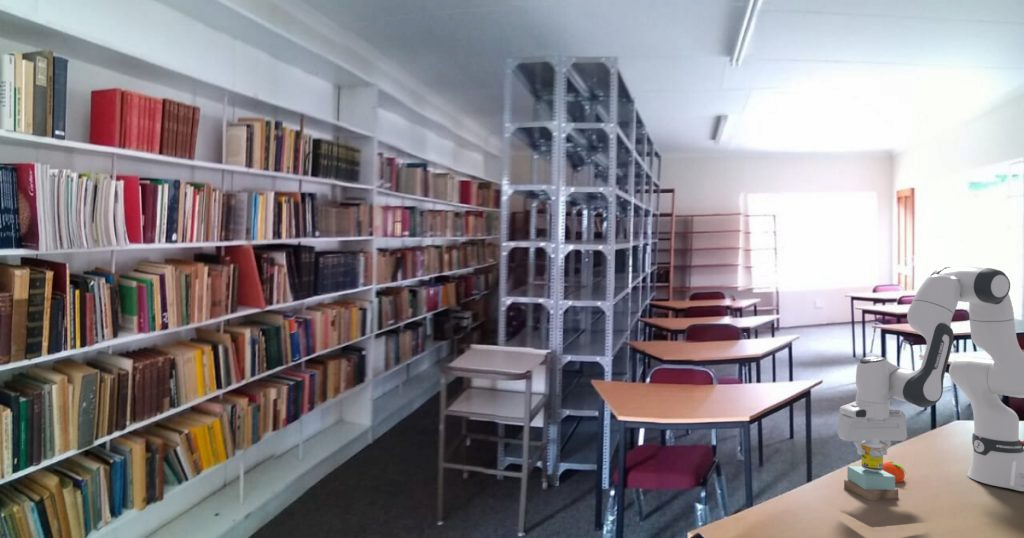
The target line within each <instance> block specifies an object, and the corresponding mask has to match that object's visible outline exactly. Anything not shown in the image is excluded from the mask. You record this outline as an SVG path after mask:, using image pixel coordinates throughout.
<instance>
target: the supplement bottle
mask: <svg viewBox="0 0 1024 538" xmlns="http://www.w3.org/2000/svg"><path fill="white" fill-rule="evenodd" d="M861 446H862V448H863V449H865V450H866V452H865V453H866V454H865V455H861V466H862V467H863V468H864V469H866V470H868V471H873V472H880V471H882V470H883V464H884V455H883V443H881V441H880V440H879V438H874V439H873V440H872V441H862V444H861Z"/></svg>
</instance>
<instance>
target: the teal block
mask: <svg viewBox="0 0 1024 538" xmlns="http://www.w3.org/2000/svg"><path fill="white" fill-rule="evenodd" d="M848 479H849V480H850V481H852V482H854V483H855V484H857V485H859V486H860V487H862V488H864V489H865V490H895V488H896V482H895V476H893V475H891V474H889V473H887V472H885V471H884V470H882V471H880V472H873V471H868V470H866V469H864V468H863V467H862V465H860V466H859V465H848V466H847V479H846V480H848Z"/></svg>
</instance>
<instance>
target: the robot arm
mask: <svg viewBox="0 0 1024 538" xmlns="http://www.w3.org/2000/svg"><path fill="white" fill-rule="evenodd" d="M1010 290H1011V282H1010V278H1009V277H1008V275H1006V273H1005V272H1004V271H1002V270H1000V269H995V268H991V267H990V268H989V267H986V268H984V267H977V266H976V267H975V266H965V267H964V266H963V267H962V266H961V267H960V266H959V267H958V266H957V267H949V266H947V267H941V268H937V269H936V270H934V271H932V273H931V275H930V276H928V277H927V278H926V279H925V280H924V282H923V283H922V284H921V285H920V287H919V289H917V292H916V293H915V296H914V297H913V300H912V301H911V303H910V306H909V308H908V311H907V316H906V321H907V322H908V325H909V327H911V328H912V329H913V331H914V332H916V333H918V334H919V335H921V336H922V337H923V338H924V339H925V342H926V347H925V351H924V354H923V358H922V362H921V365H920V367H919V369H918V370H912V369H907V368H904V367H901V366H898V365H896V364H893V363H892V362H890V361H889V360H888V359H887V358H886V357H882V356H872V355H871V356H865V357H862V358H860V359H859V360H858V363H857V366H856V371H855V386H856V391H857V392H856V395H855V401H853V402H850V403H848V404H844V405H842V406H841V405H840V407H839V412H840V415H839V417H838V420H837V430H836V431H837V436H838V438H840V439H841V440H843V441H845V442H853V444H854V446H855V447H856V449H857V450H856V453H857V455H859V456H862V455H865V454H866V453H865V452H866V450H865V449H863V448H862V441H872V440H873V439H874V438H879V440H880V442H882V445H883V456H887V455H888V450H889V448H890V447H891V445H892V441H900V442H901V441H902V442H903V441H906V440H907V438H908V433H907V432H908V431H907V430H908V429H907V424H906V414H905V413H904V412H903V411H902V410H901V409H890V405H891V404H890V403H891V402H890V398H894V399H897V400H900V401H903V402H907V403H909V404H912V405H914V406H917V407H919V408H930V407H932V406H934V405H936V404H937V403H938V402H939V401H940V399H942V396H943V391H944V380H945V379H944V378H945V375H946V371H947V367H948V363H949V359H950V355H951V352H952V347H953V343H954V336H955V335H954V330H953V328H952V326H951V324H952V319H953V316H954V314H955V311H956V309H957V306H958V304H959V302H963V303H968V304H969V305H968V310H969V311H968V315H969V316H968V317H969V326H970V327H969V328H970V339H971V341H972V343H973V344H974V345H975V346H976V347H978V348H979V349H981V350H982V351H985V353H987V354H988V355H989V356H990V357H991V358H983V357H977V356H975V357H974V356H973V357H971V356H970V357H958V358H956V359H953V361H952V363H950V365H949V368H948V375H949V379H950V380H951V381H952V383H953V384H954V385H956V386H957V387H958V388H959V389H960V390H961V391H962V392H963V393H964V394H965V396H966V398H967V399H968V401H969V403H970V405H971V409H972V413H973V433H972V437H971V439H972V440H971V444H972V447H973V448H972V453H971V459H970V466H969V467H968V472H967V476H968V478H970V479H972V480H974V481H977V482H980V483H983V484H986V485H990V486H995V487H999V488H1005V489H1010V490H1015V491H1019V492H1024V440H1021V439H1020V418H1019V416H1018V414H1017V413H1016V411H1015V410H1013V409H1012V408H1010V407H1008V406H1007V405H1006V404H1004V403H1003V401H1001V399H1000V397H999V395H1000V396H1005V397H1006V396H1008V397H1012V398H1019V399H1023V398H1024V351H1023V350H1022V347H1020V343H1019V341H1018V338H1017V331H1016V326H1015V324H1016V323H1015V315H1014V314H1015V313H1014V308H1013V302H1012V300H1011V296H1010Z"/></svg>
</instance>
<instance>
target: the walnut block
mask: <svg viewBox="0 0 1024 538" xmlns="http://www.w3.org/2000/svg"><path fill="white" fill-rule="evenodd" d="M843 482H844V483H843V488H844V489H845V490H848V491H850V492H851V493H854V494H856V495H858V496H861V497H862V498H865V499H867V500H870V501H880V500H889V499H899V488H897V487H895V490H865V489H864V488H862V487H860V486H859V485H857V484H855V483H854V482H852V481H850V480H849V479H843Z"/></svg>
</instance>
